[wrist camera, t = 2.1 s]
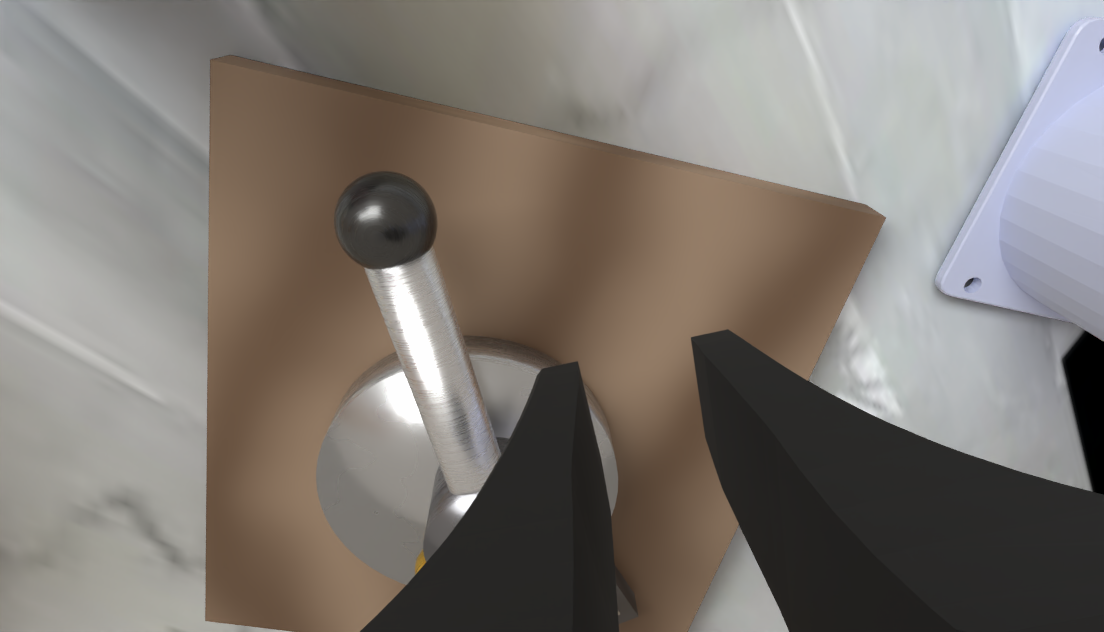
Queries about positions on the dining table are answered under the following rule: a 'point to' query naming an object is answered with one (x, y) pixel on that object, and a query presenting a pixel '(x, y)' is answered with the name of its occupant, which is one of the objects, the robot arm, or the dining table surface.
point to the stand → (484, 320)
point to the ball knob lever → (419, 393)
